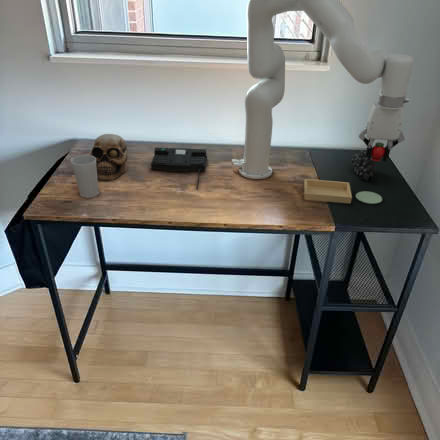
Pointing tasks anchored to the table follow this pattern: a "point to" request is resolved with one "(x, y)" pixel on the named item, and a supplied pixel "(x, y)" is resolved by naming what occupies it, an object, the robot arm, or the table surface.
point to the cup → (86, 175)
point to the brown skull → (109, 156)
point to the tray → (327, 191)
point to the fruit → (363, 165)
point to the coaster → (368, 197)
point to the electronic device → (180, 160)
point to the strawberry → (378, 151)
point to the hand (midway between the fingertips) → (376, 158)
